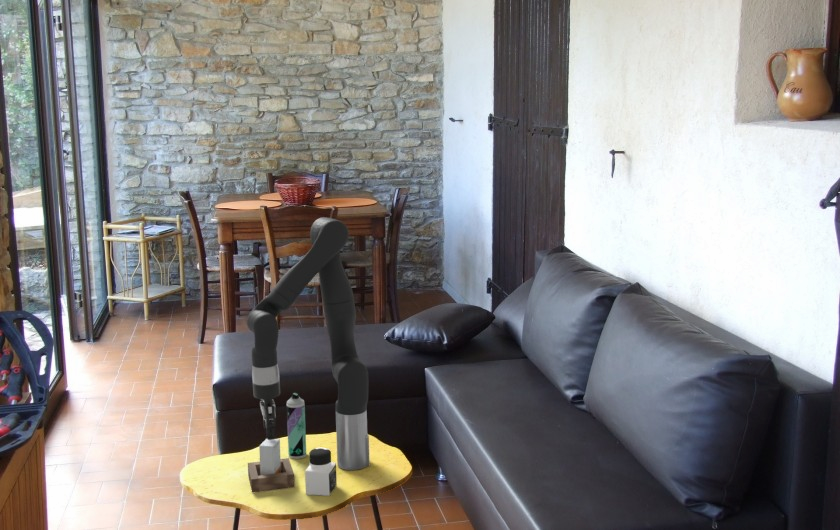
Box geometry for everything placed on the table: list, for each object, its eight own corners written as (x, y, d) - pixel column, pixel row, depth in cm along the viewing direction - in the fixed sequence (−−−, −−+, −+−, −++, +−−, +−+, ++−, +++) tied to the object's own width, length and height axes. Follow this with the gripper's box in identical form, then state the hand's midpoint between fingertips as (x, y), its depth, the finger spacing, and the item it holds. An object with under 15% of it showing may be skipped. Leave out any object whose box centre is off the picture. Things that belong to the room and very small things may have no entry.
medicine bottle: (330, 496, 247) (328, 455, 245) (305, 494, 249) (303, 454, 246) (337, 485, 254) (335, 445, 252) (312, 484, 255) (311, 444, 253)
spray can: (291, 451, 279) (288, 390, 276) (308, 452, 278) (306, 391, 275) (286, 458, 274) (283, 396, 270) (303, 459, 273) (301, 396, 269)
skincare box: (274, 486, 254) (272, 446, 252) (260, 485, 255) (258, 445, 253) (281, 477, 260) (280, 438, 258) (268, 476, 261) (266, 437, 259)
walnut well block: (289, 470, 265) (288, 458, 264) (294, 487, 253) (294, 474, 253) (248, 475, 262) (247, 462, 261) (252, 492, 250) (251, 479, 249)
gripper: (282, 385, 246) (285, 441, 249) (276, 371, 259) (279, 423, 262) (255, 389, 244) (258, 444, 247) (250, 373, 257) (253, 426, 261)
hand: (269, 433), depth 255 cm, fingers open, 8 cm apart
